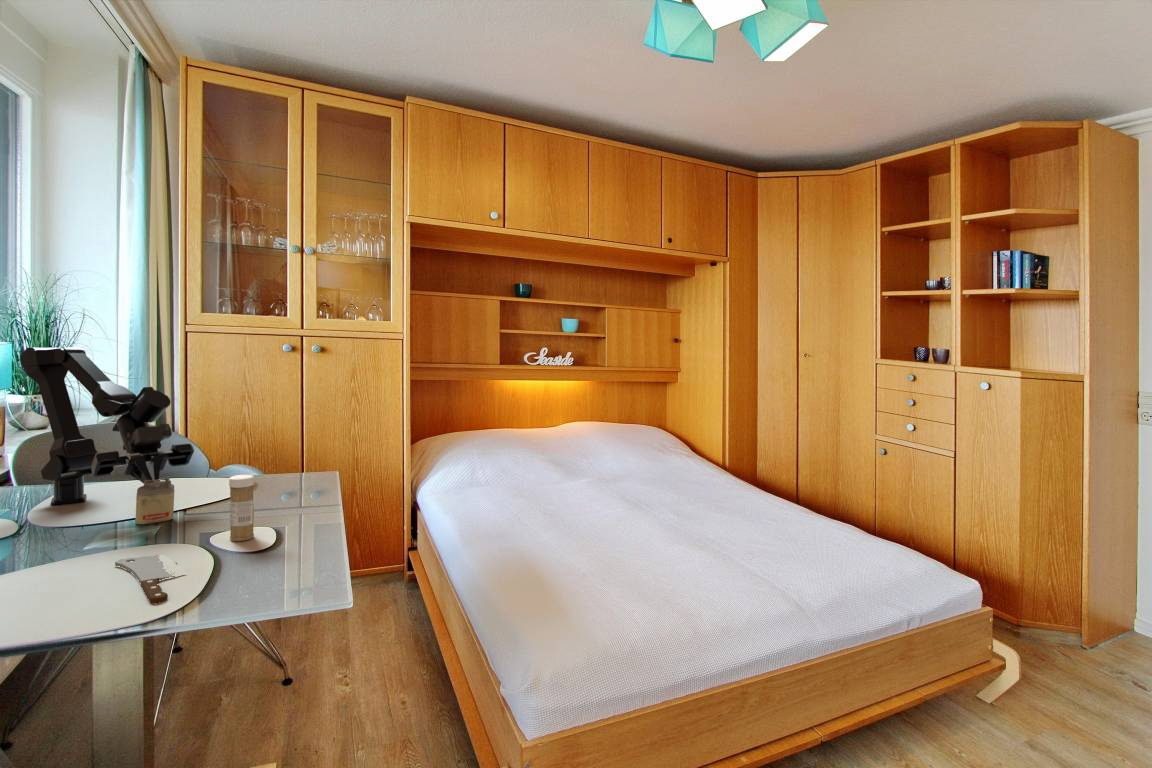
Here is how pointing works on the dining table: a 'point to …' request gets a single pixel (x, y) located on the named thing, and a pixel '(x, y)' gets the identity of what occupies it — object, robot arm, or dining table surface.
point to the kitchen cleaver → (148, 575)
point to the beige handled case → (155, 501)
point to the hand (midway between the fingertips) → (154, 488)
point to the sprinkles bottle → (241, 507)
